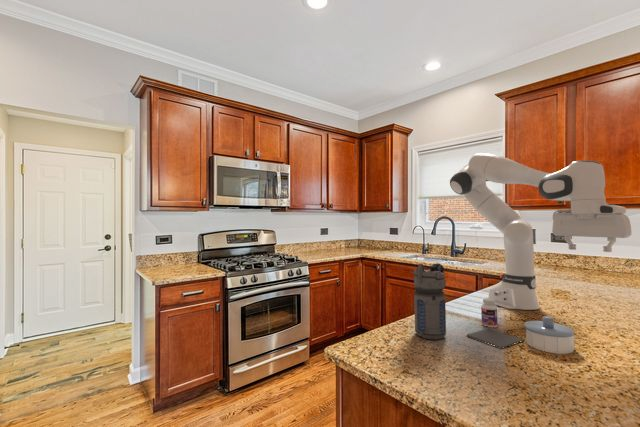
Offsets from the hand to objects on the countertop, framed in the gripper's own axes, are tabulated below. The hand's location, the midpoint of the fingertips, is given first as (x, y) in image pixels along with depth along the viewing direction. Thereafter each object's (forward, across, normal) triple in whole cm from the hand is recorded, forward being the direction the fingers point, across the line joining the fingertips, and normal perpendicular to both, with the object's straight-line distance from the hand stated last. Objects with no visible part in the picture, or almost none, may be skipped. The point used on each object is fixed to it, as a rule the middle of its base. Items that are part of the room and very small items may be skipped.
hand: (589, 250), depth 104 cm
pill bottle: (+29, -25, -16) cm, 42 cm away
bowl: (+29, -4, -18) cm, 34 cm away
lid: (+24, -4, -18) cm, 30 cm away
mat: (+29, -16, -27) cm, 43 cm away
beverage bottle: (+29, -29, -42) cm, 59 cm away
